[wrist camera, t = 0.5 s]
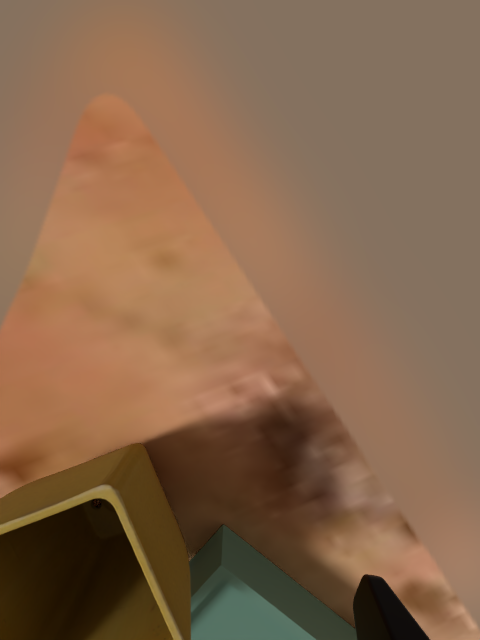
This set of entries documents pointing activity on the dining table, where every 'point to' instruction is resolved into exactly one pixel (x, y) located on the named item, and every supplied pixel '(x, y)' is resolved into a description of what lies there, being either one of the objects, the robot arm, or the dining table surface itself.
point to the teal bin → (253, 598)
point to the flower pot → (94, 555)
